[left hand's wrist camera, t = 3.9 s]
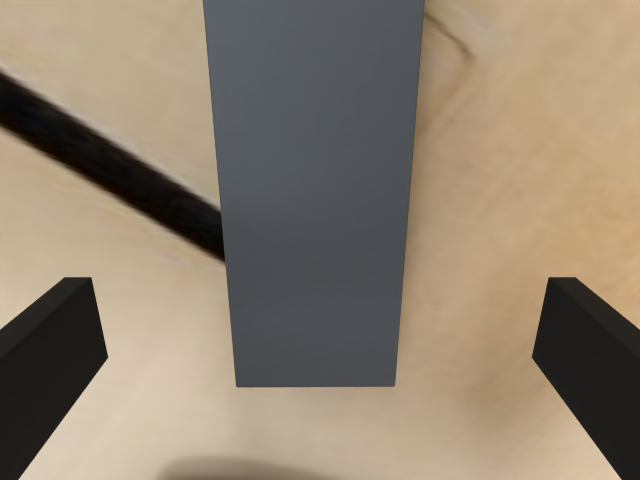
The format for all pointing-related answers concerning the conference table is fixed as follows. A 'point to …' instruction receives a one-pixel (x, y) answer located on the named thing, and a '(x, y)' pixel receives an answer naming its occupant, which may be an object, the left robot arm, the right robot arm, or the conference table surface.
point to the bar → (314, 182)
